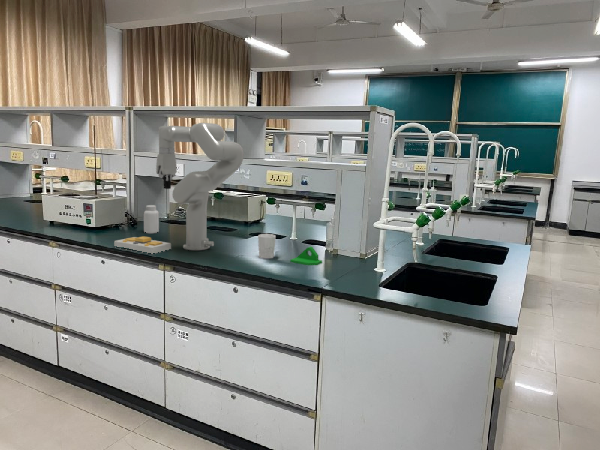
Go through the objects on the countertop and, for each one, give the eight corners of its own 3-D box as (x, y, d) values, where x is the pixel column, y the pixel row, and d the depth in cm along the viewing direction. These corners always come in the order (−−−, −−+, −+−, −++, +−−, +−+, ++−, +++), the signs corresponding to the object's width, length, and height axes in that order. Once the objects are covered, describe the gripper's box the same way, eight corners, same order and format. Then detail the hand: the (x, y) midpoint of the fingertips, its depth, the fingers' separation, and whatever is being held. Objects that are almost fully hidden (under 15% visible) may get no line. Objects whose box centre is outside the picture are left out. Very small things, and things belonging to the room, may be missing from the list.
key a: (162, 248, 211) (162, 242, 211) (154, 250, 207) (154, 244, 206) (154, 246, 213) (154, 241, 213) (146, 248, 209) (146, 242, 208)
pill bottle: (147, 234, 245) (146, 207, 243) (141, 231, 251) (141, 205, 249) (161, 232, 250) (160, 206, 248) (155, 230, 256) (155, 204, 254)
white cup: (255, 255, 208) (256, 234, 206) (272, 254, 211) (272, 233, 209) (260, 259, 201) (260, 237, 199) (277, 258, 203) (277, 237, 202)
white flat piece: (170, 249, 213) (170, 241, 212) (152, 254, 202) (152, 246, 202) (134, 242, 223) (133, 235, 223) (114, 247, 213) (114, 239, 212)
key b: (151, 243, 214) (151, 237, 213) (143, 245, 209) (143, 239, 209) (143, 242, 216) (143, 236, 216) (135, 243, 212) (135, 238, 211)
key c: (140, 244, 217) (140, 238, 217) (132, 246, 213) (132, 240, 212) (133, 242, 219) (132, 237, 219) (124, 244, 215) (124, 239, 214)
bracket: (290, 262, 198) (290, 247, 197) (299, 259, 205) (299, 244, 204) (313, 267, 192) (314, 251, 191) (322, 263, 199) (322, 248, 198)
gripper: (171, 151, 230) (171, 187, 234) (149, 151, 217) (150, 189, 220) (182, 152, 227) (183, 188, 230) (161, 151, 214) (162, 190, 217)
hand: (167, 188), depth 225 cm, fingers closed
